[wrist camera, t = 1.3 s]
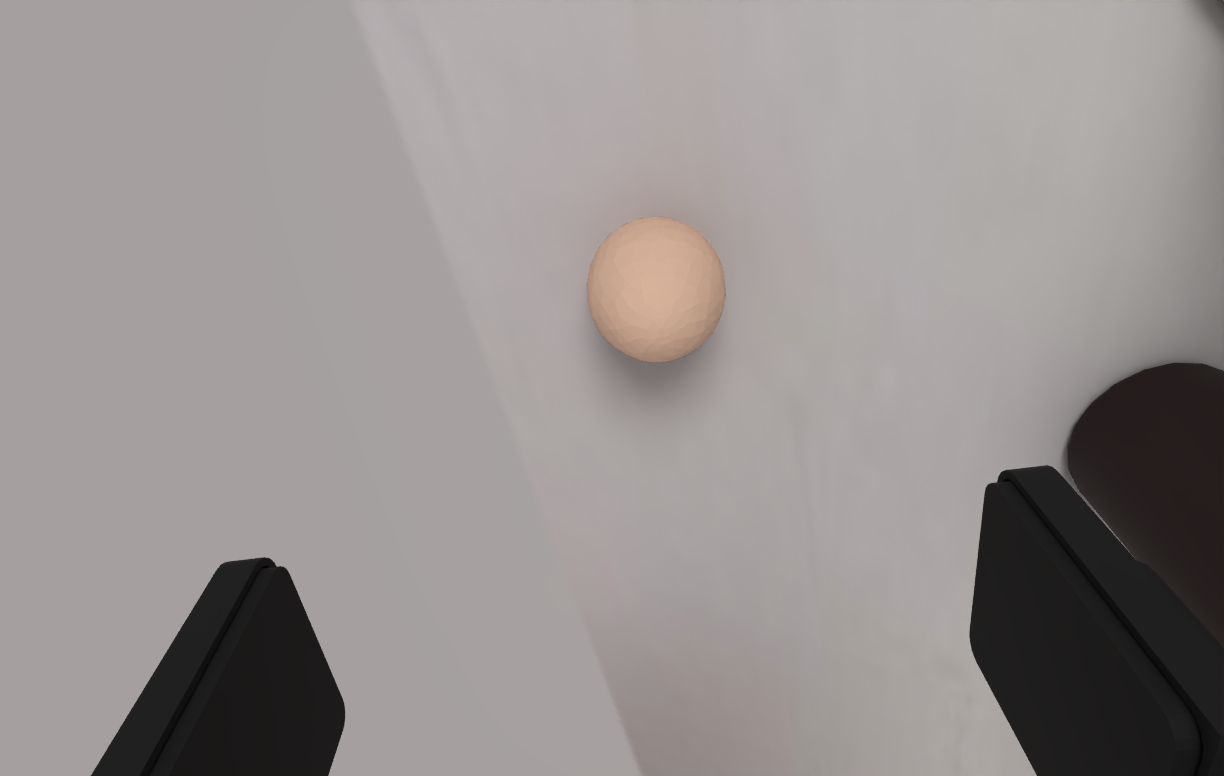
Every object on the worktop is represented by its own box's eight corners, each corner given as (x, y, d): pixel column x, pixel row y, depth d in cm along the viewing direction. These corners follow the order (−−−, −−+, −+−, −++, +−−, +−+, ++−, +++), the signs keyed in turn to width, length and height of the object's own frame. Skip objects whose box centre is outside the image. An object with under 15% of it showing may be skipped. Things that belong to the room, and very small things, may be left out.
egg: (642, 340, 30) (647, 421, 25) (563, 251, 28) (551, 319, 23) (741, 268, 28) (767, 338, 23) (664, 170, 27) (674, 224, 22)
